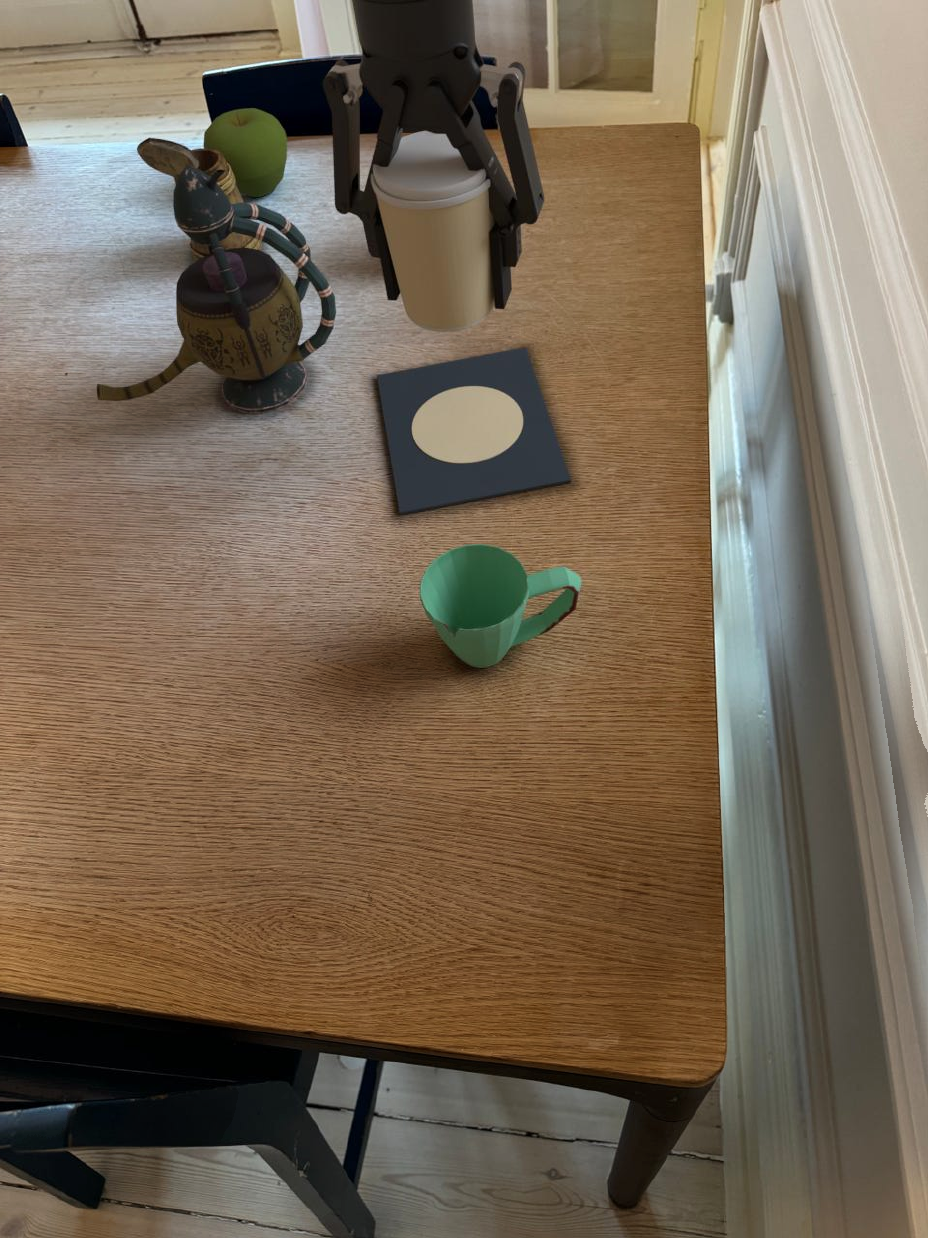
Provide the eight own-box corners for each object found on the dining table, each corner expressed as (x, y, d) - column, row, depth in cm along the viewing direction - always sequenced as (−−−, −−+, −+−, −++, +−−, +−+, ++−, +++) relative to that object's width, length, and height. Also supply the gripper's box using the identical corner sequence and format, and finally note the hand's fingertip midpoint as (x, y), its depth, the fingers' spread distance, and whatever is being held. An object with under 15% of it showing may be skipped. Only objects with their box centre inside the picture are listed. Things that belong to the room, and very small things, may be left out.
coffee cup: (523, 281, 72) (517, 133, 62) (478, 348, 67) (464, 200, 58) (425, 263, 75) (404, 119, 65) (376, 326, 70) (345, 182, 61)
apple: (204, 200, 115) (177, 123, 107) (257, 163, 119) (235, 86, 111) (261, 219, 111) (237, 140, 102) (314, 181, 115) (295, 102, 107)
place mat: (571, 482, 78) (571, 478, 78) (400, 515, 78) (399, 511, 78) (526, 349, 90) (525, 345, 90) (377, 378, 90) (376, 374, 89)
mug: (440, 698, 66) (426, 640, 60) (427, 616, 71) (412, 554, 64) (591, 670, 67) (594, 608, 60) (568, 590, 71) (568, 525, 65)
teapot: (360, 391, 89) (305, 167, 70) (124, 469, 85) (-1, 255, 66) (329, 328, 96) (271, 108, 77) (110, 398, 92) (-8, 185, 73)
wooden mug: (173, 294, 103) (107, 140, 88) (205, 231, 110) (149, 80, 96) (243, 293, 101) (188, 136, 87) (270, 229, 109) (224, 75, 94)
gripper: (227, -7, 53) (315, 312, 71) (568, -9, 48) (567, 333, 66) (273, -53, 57) (345, 260, 75) (592, -60, 52) (585, 277, 70)
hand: (449, 294), depth 71 cm, fingers closed on coffee cup, 8 cm apart
